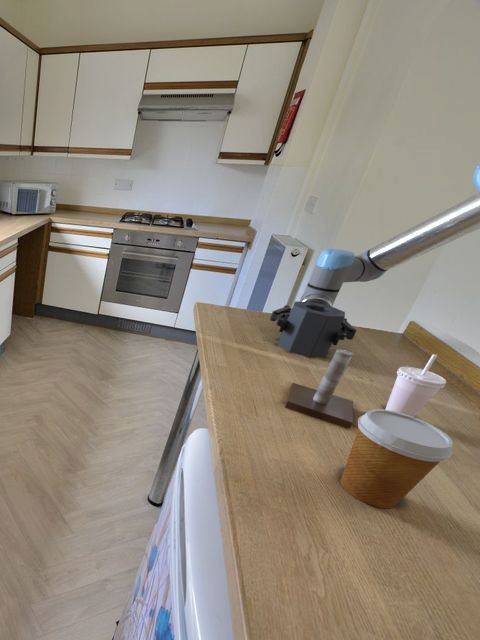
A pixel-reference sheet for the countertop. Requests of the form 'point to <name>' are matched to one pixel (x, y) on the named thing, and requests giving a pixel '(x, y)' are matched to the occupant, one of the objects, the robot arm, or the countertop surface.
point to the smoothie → (414, 389)
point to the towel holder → (325, 395)
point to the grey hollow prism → (311, 329)
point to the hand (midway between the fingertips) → (308, 333)
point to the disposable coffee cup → (392, 456)
